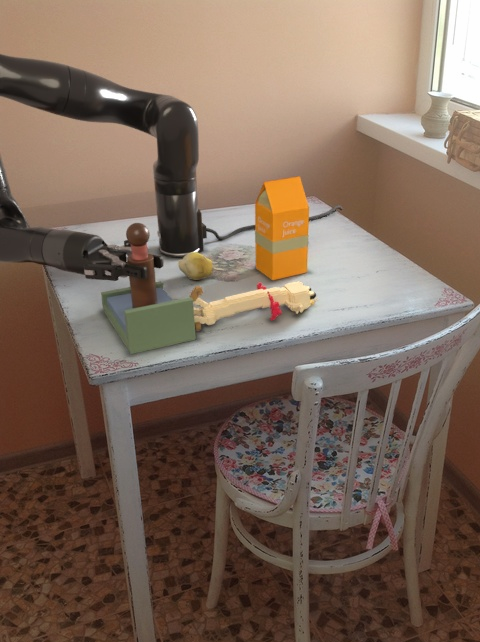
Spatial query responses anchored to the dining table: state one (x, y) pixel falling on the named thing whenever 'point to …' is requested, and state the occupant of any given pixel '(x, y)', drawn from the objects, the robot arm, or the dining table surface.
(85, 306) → the dining table surface
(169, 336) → the bed
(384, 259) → the dining table surface
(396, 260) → the dining table surface
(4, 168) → the robot arm
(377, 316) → the dining table surface
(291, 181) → the orange juice
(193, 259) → the fruit
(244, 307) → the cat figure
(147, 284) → the skittle
